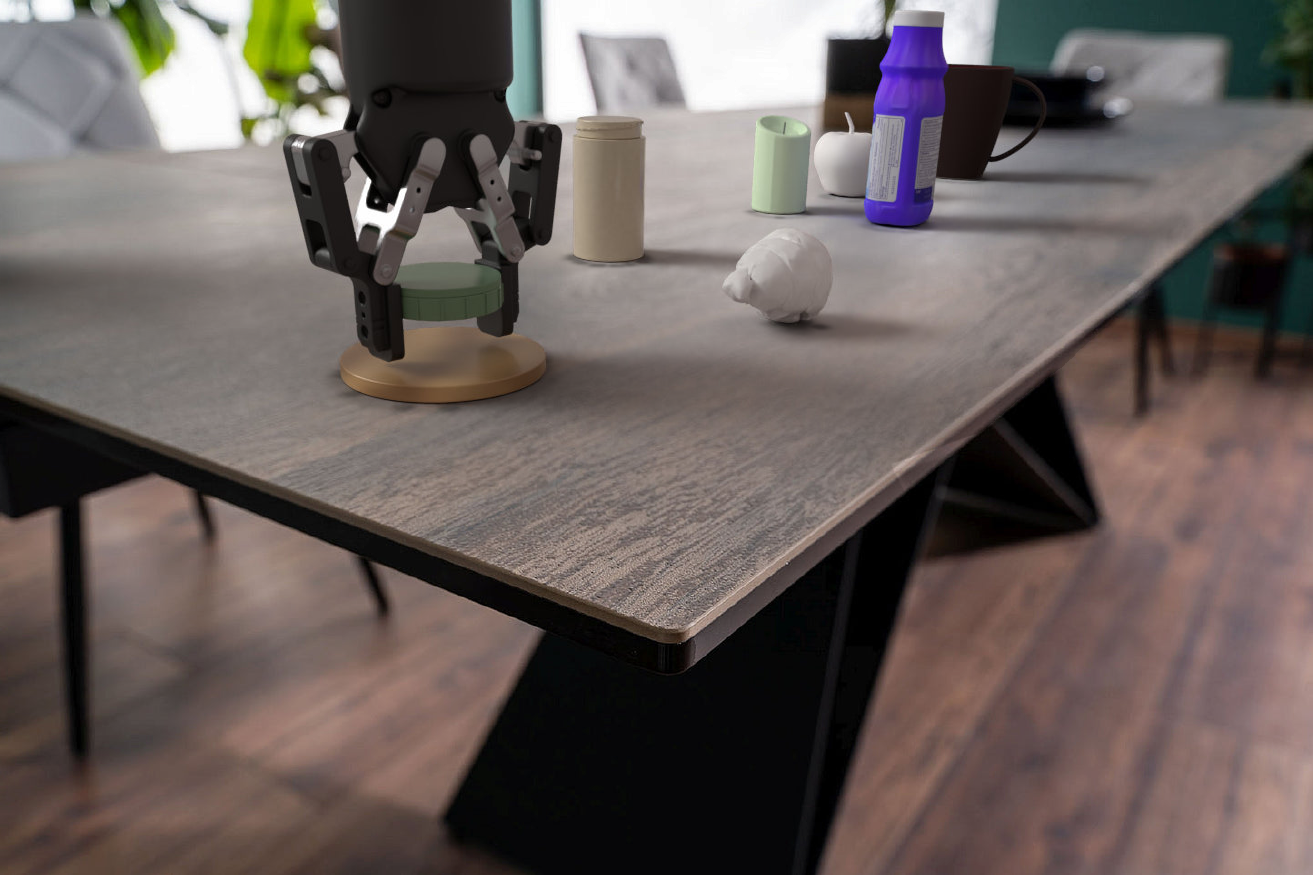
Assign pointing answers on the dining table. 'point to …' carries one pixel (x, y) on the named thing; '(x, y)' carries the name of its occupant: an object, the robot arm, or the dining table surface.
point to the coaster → (446, 366)
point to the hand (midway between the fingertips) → (443, 343)
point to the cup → (977, 118)
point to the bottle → (907, 121)
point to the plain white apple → (843, 161)
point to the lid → (449, 291)
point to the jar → (608, 188)
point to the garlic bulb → (783, 276)
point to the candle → (780, 165)
